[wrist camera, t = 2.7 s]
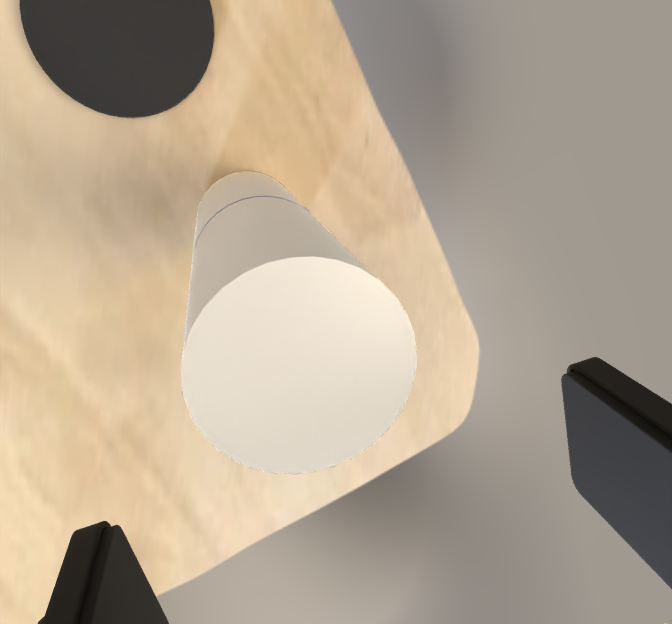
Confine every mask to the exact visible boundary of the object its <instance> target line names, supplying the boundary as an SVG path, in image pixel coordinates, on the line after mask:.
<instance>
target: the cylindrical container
mask: <svg viewBox="0 0 672 624" xmlns="http://www.w3.org/2000/svg"><path fill="white" fill-rule="evenodd" d="M416 361H417V350H416V343H415V335H414V332H413V329H412V326H411V323H410V320H409V318H408V315H407V313H406V312H405V310H404V308H403V307H402V305H401V304H400V302H399V301H398V299H397V297H396V296H395V295H394V294H393V293H392V292H391V291H390V290H389V289H388V288H387V287H386V286H385V285H384V284H383V283H382V282H381V281H380V280H379V279H378V278H377V277H376V276H375V275H374V274H373V273H372V272H371V271H370V270H369V269H368V268H367V267H366V266H365V265H364V264H363V263H362V262H361V261H360V260H359V259H358V258H357V257H356V256H355V255H354V254H353V253H352V252H351V251H350V250H349V249H348V248H347V247H346V246H344V245H343V244H342V243H341V242H340V241H339V240H338V239H337V238H336V237H335V236H334V235H333V234H332V233H331V232H330V231H329V230H328V229H327V228H326V227H325V226H324V225H323V224H322V223H321V222H320V221H318V220H317V219H316V218H315V217H314V216H313V215H312V214H311V213H310V212H309V211H308V210H307V209H306V208H305V207H304V206H303V205H302V204H301V203H300V202H299V201H298V200H297V199H296V198H295V197H294V196H293V195H292V194H291V193H290V192H289V191H288V190H287V189H286V188H285V187H284V186H282V185H281V184H280V183H279V182H278V181H276V180H275V179H273V178H272V177H270V176H267V175H265V174H262V173H258V172H253V171H240V172H235V173H231V174H229V175H226V176H224V177H222V178H221V179H219V180H218V181H216V182H215V183H213V184H212V186H211V187H210V188H209V189H208V190H207V191H206V193H205V194H204V196H203V198H202V199H201V202H200V205H199V208H198V212H197V220H196V229H195V238H194V248H193V258H192V268H191V277H190V286H189V295H188V304H187V314H186V324H185V334H184V344H183V353H182V363H181V384H182V394H183V397H184V400H185V403H186V406H187V410H188V413H189V414H190V416H191V418H192V420H193V421H194V423H195V425H196V427H197V428H198V430H199V432H200V433H201V434H202V435H203V436H204V437H205V438H206V439H207V440H208V441H209V443H210V444H211V445H212V446H213V447H214V448H216V449H217V450H219V451H220V452H221V453H223V454H224V455H226V456H227V457H228V458H230V459H231V460H233V461H236V462H238V463H240V464H242V465H245V466H247V467H249V468H252V469H256V470H260V471H265V472H269V473H274V474H302V473H310V472H317V471H320V470H324V469H327V468H331V467H334V466H337V465H339V464H341V463H343V462H345V461H348V460H350V459H352V458H354V457H356V456H357V455H359V454H360V453H362V452H363V451H365V450H366V449H367V448H369V447H370V446H372V445H373V444H374V443H375V442H376V441H377V440H378V439H379V438H380V437H381V436H383V435H384V434H385V433H386V432H387V431H388V430H389V428H390V427H391V426H392V424H393V423H394V422H395V420H396V419H397V417H398V416H399V415H400V413H401V412H402V410H403V408H404V406H405V403H406V401H407V399H408V397H409V395H410V393H411V389H412V385H413V381H414V378H415V374H416Z"/></svg>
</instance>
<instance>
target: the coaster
mask: <svg viewBox="0 0 672 624" xmlns="http://www.w3.org/2000/svg"><path fill="white" fill-rule="evenodd" d="M20 12H21V20H22V24H23V28H24V32H25V35H26V38H27V41H28V43H29V46H30V48H31V50H32V52H33V54H34V56H35V58H36V60H37V61H38V63H39V64H40V66H41V67H42V69H43V70H44V71H45V73H46V74H47V75H48V76H49V77H50V79H51V80H52V81H53V82H54V83H55V84H56V85H57V86H58V87H59V88H60V89H61V90H62V91H64V92H65V93H66V94H68V95H69V96H70V97H72V98H73V99H74V100H76V101H78V102H79V103H81V104H83V105H84V106H86V107H89V108H91V109H93V110H95V111H98V112H101V113H105V114H108V115H112V116H118V117H132V118H135V117H145V116H150V115H154V114H158V113H160V112H163V111H166V110H168V109H170V108H172V107H173V106H175V105H177V104H178V103H180V102H181V101H182V100H183V99H185V98H186V97H187V96H188V95H189V94H190V93H191V92H192V91H193V90H194V88H195V87H196V86H197V84H198V83H199V82H200V80H201V78H202V76H203V75H204V73H205V71H206V68H207V66H208V63H209V60H210V56H211V52H212V47H213V37H214V25H213V15H212V9H211V5H210V1H209V0H20Z"/></svg>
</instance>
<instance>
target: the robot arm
mask: <svg viewBox="0 0 672 624" xmlns="http://www.w3.org/2000/svg"><path fill="white" fill-rule="evenodd" d="M561 380H562V381H561V382H562V392H563V401H564V410H565V419H566V428H567V438H568V447H569V457H570V465H571V475H572V479H573V482H574V484H575V487H576V489H577V490H578V492H579V493H580V494H581V495H582V496H583V497H584V498H585V499H586V500H587V501H588V503H590V505H591V506H592V507H593V508H594V509H595V510H596V511H597V512H598V513H599V514H600V515H601V516H602V517H603V518H604V519H605V520H606V521H607V522H608V523H609V524H610V525H611V526H612V527H613V528H614V530H615V531H617V533H618V534H619V535H620V536H621V537H622V538H623V539H624V540H625V541H626V542H627V543H628V544H629V545H630V546H631V547H632V548H633V549H634V550H635V551H636V552H637V553H638V554H639V556H640V557H641V558H642V559H643V560H644V561H645V562H646V563H647V564H648V565H649V566H650V567H651V568H652V569H653V570H654V571H655V572H656V573H657V574H658V575H659V576H660V577H661V578H662V579H663V580H664V581H665V582H666V584H667V585H668V586H669V587H670V588H671V589H672V404H671V403H669V402H668V401H666V400H664V399H663V398H661V397H660V396H658V395H657V394H655V393H653V392H652V391H650V390H649V389H647V388H646V387H644V386H642V385H641V384H639V383H638V382H636V381H634V380H633V379H631V378H630V377H628V376H626V375H625V374H624V373H622V372H620V371H619V370H617V369H616V368H614V367H613V366H611V365H609V364H608V363H606V362H605V361H603V360H601V359H600V358H597V357H593V358H590V359H587V360H584V361H581V362H578V363H575V364H572V365H570V366H569V367H568V369H567V374H564V375H563V376H562V379H561ZM38 624H169V623H168V621H167V618H166V616H165V614H164V612H163V610H162V608H161V606H160V604H159V602H158V600H157V598H156V596H155V594H154V592H153V590H152V588H151V586H150V584H149V582H148V580H147V578H146V576H145V574H144V572H143V570H142V568H141V566H140V564H139V562H138V560H137V558H136V556H135V554H134V552H133V550H132V548H131V546H130V544H129V542H128V540H127V538H126V536H125V534H124V532H123V530H122V529H121V527H120V526H119V525H115V526H112V527H111V525H110V524H109V523H108V522H107V521H103V522H100V523H97V524H94V525H91V526H88V527H85V528H82V529H79V530H76V531H75V532H74V533H73V535H72V537H71V540H70V543H69V546H68V549H67V551H66V554H65V557H64V560H63V563H62V566H61V569H60V572H59V575H58V578H57V581H56V584H55V587H54V590H53V593H52V596H51V599H50V602H49V605H48V608H47V611H46V614H45V617H43V618H42V619H41V620H40V621H39V622H38ZM664 624H672V621H669V622H666V623H664Z"/></svg>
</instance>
